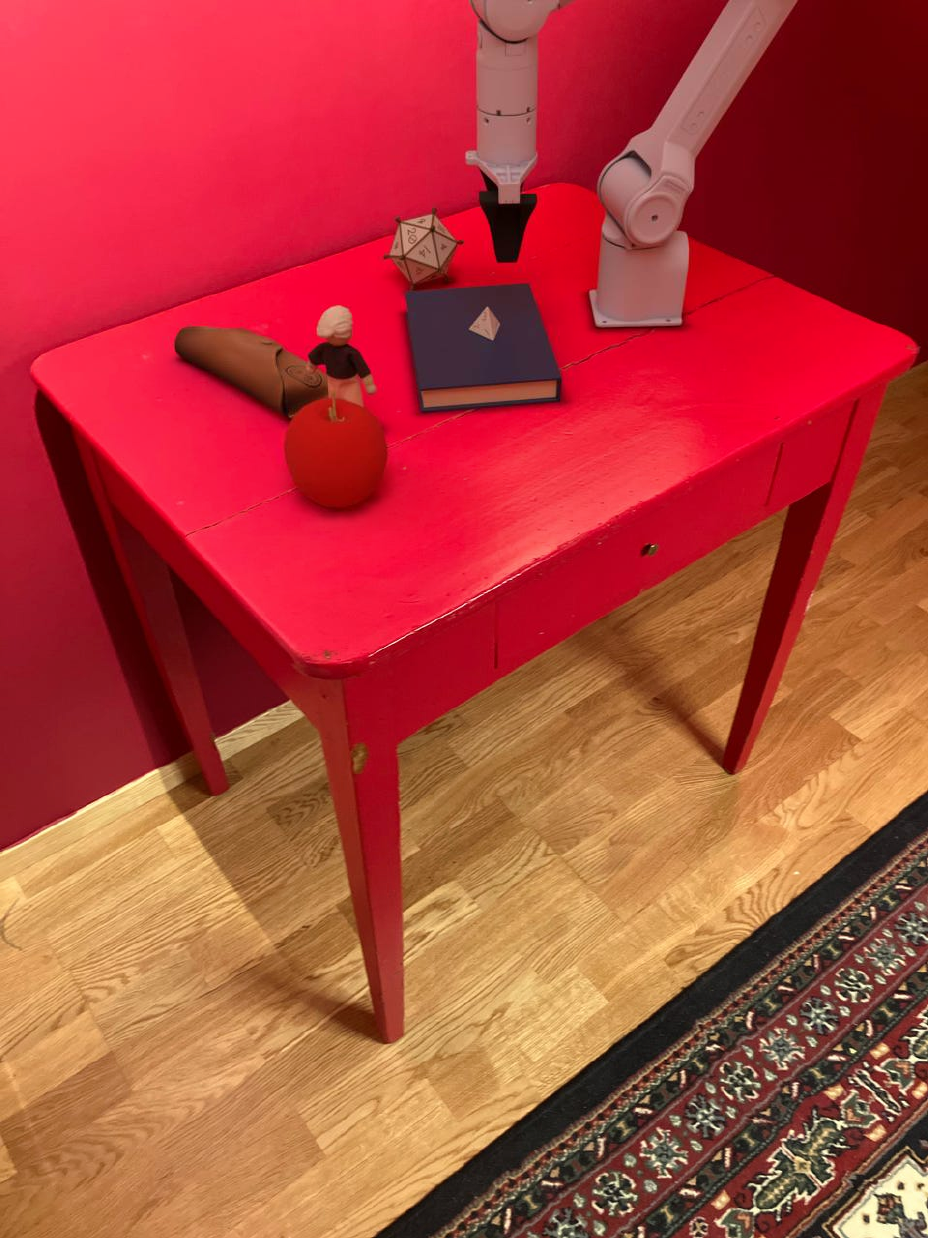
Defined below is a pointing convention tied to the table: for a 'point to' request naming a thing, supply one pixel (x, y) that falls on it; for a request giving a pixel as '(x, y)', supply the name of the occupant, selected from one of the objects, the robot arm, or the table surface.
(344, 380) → the grandmother figurine
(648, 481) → the table surface
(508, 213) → the robot arm
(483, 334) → the tetrahedral die
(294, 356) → the sunglasses case
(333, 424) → the fruit
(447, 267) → the game die
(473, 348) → the book
